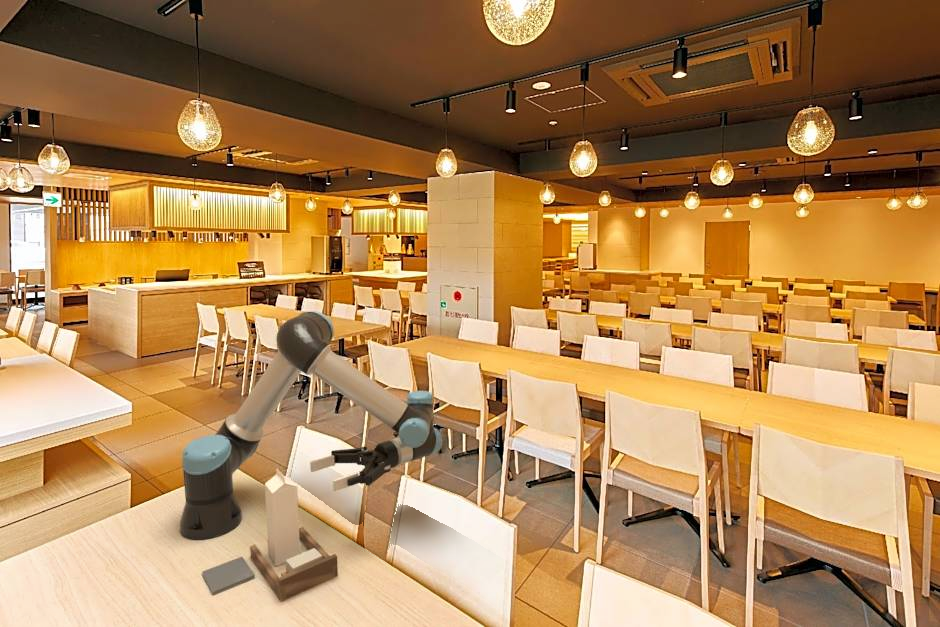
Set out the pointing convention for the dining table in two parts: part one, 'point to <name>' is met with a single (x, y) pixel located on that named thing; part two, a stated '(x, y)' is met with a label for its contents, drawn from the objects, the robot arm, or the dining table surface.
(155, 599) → the dining table surface
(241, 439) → the robot arm
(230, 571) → the slate pad
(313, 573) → the rack
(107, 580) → the dining table surface
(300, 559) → the offcut top
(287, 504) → the milk
